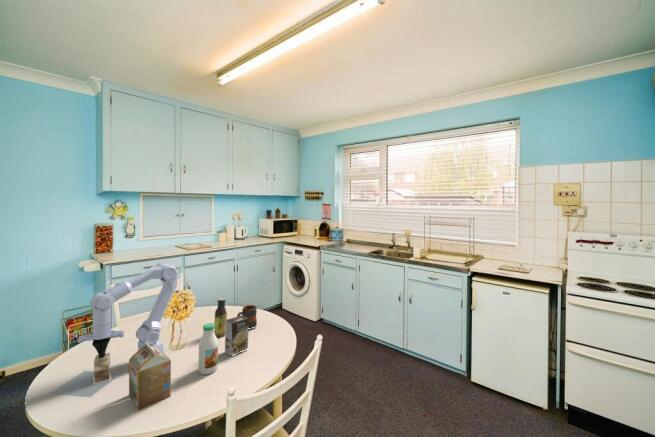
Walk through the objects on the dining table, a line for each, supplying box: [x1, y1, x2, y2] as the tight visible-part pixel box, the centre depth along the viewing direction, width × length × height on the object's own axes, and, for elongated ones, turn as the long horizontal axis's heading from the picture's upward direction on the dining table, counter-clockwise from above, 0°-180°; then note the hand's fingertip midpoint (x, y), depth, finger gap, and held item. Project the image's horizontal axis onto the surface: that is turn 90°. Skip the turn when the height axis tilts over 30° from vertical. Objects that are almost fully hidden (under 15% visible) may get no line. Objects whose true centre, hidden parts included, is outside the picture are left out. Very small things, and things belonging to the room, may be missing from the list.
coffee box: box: [224, 315, 249, 355], centre depth 143 cm, size 9×6×16 cm
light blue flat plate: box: [50, 370, 121, 398], centre depth 114 cm, size 16×15×1 cm
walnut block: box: [95, 368, 110, 383], centre depth 117 cm, size 4×4×4 cm
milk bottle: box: [198, 322, 219, 375], centre depth 126 cm, size 8×8×20 cm
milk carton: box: [128, 342, 172, 411], centre depth 108 cm, size 11×11×19 cm
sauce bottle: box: [213, 297, 228, 338], centre depth 158 cm, size 7×6×20 cm
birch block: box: [93, 352, 111, 372], centre depth 117 cm, size 4×4×4 cm
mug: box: [236, 304, 258, 328], centre depth 169 cm, size 9×12×12 cm
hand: (102, 356), depth 117 cm, fingers closed, pressing on birch block
